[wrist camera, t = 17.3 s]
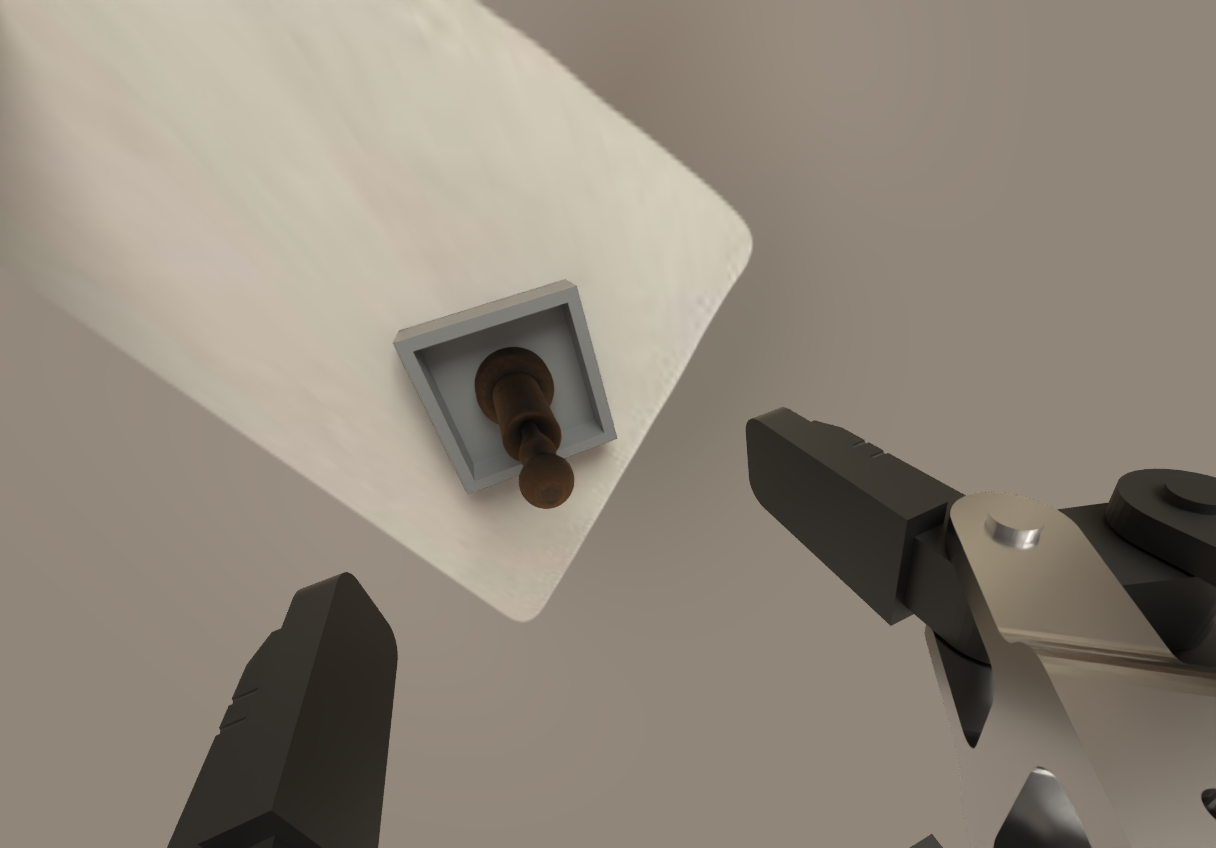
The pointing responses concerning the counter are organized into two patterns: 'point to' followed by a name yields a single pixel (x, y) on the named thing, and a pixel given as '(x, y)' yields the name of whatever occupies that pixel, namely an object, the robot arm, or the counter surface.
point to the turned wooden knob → (526, 422)
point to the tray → (463, 340)
